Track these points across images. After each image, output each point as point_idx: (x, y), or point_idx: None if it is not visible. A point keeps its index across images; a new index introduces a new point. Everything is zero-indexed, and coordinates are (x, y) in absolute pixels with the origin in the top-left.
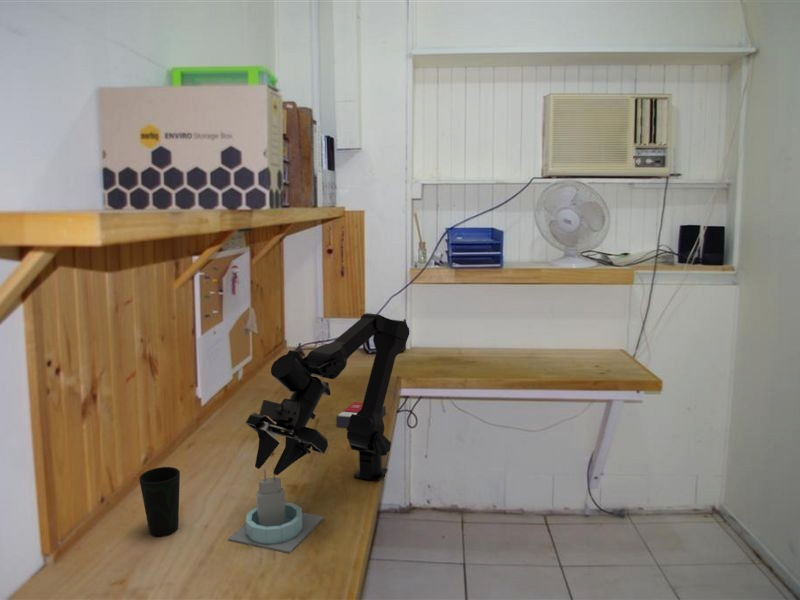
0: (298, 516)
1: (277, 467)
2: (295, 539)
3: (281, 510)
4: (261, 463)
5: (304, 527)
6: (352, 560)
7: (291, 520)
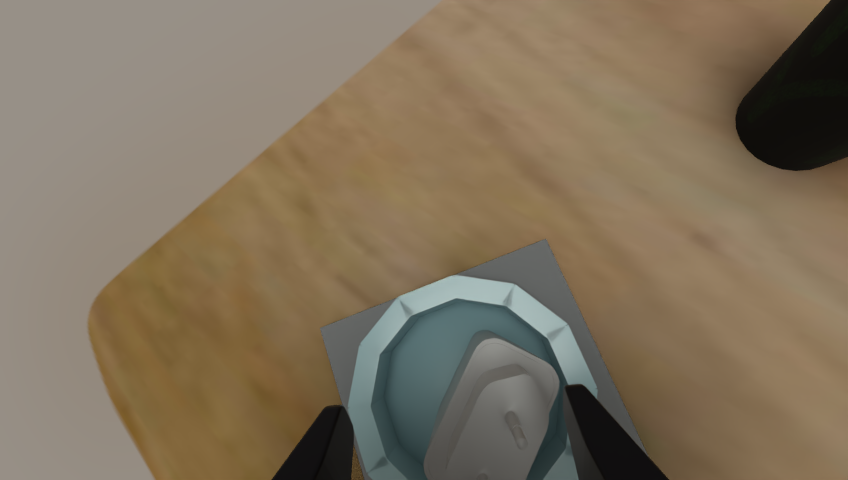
0: (376, 461)
1: (297, 448)
2: None
3: (435, 422)
4: (580, 462)
5: None
6: (147, 431)
7: None
